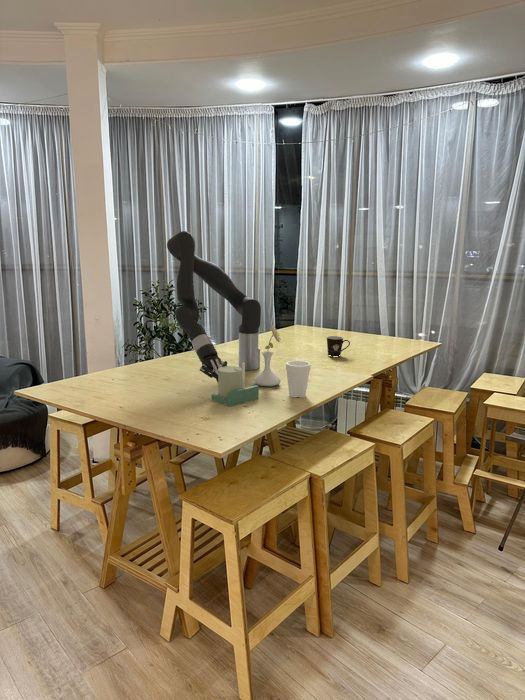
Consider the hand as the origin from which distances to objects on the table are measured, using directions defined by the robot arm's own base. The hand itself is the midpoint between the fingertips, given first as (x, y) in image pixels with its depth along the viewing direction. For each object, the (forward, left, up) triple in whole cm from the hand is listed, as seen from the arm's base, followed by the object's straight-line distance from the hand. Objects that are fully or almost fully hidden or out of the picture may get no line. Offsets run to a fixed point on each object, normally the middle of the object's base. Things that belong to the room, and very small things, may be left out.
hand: (223, 384), depth 193 cm
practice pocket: (-1, +7, -4) cm, 8 cm away
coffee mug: (-84, -28, -4) cm, 88 cm away
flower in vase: (-24, -4, -4) cm, 24 cm away
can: (0, +5, -4) cm, 7 cm away
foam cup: (-25, +15, -4) cm, 29 cm away
